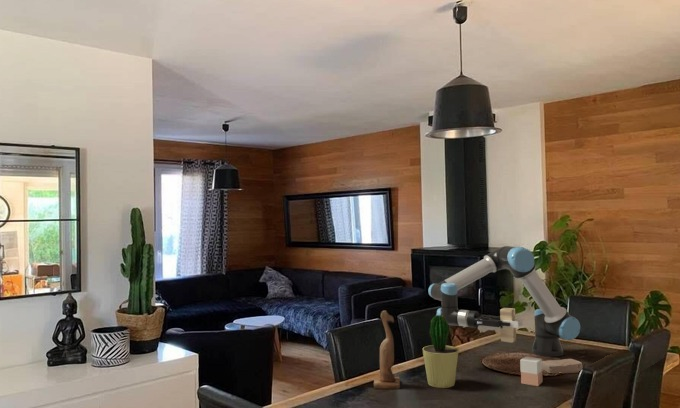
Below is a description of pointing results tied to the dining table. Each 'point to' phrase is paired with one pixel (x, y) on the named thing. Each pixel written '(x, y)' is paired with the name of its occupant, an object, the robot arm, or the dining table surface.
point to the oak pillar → (507, 332)
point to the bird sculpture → (386, 358)
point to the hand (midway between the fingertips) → (520, 323)
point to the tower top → (531, 365)
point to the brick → (562, 366)
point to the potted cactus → (440, 355)
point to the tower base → (531, 378)
